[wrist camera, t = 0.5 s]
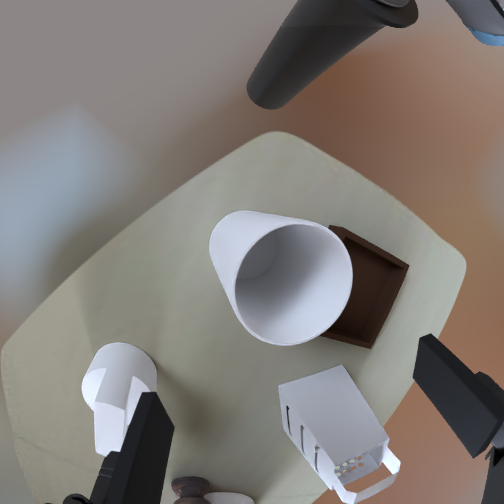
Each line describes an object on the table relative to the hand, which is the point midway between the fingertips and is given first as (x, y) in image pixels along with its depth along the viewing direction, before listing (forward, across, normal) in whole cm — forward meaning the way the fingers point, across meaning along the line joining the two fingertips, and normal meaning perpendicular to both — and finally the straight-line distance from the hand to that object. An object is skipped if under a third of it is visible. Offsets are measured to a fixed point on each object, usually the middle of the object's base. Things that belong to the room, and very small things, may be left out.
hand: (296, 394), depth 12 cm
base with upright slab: (+18, -20, -10) cm, 29 cm away
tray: (+24, +11, -7) cm, 27 cm away
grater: (+22, +4, -24) cm, 33 cm away
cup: (+22, -2, +2) cm, 22 cm away
